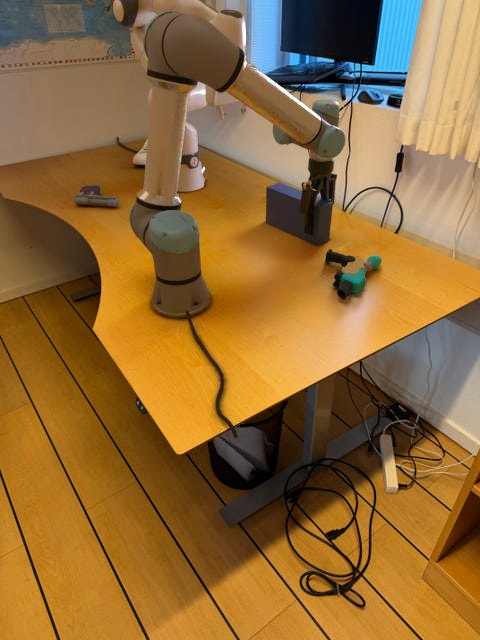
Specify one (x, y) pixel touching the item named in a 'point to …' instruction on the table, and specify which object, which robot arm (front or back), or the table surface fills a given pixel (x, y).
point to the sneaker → (141, 155)
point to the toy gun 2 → (351, 272)
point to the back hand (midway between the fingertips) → (233, 116)
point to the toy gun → (94, 197)
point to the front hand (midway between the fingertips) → (315, 230)
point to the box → (297, 213)
